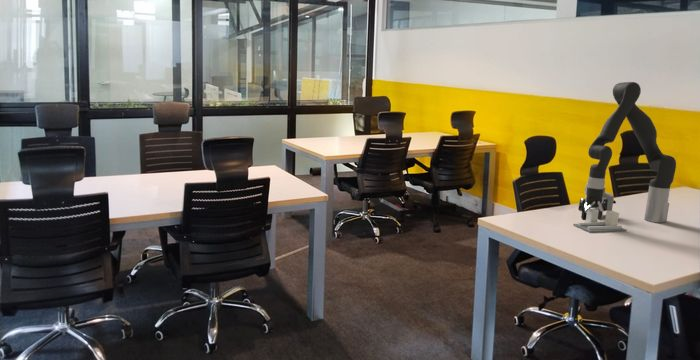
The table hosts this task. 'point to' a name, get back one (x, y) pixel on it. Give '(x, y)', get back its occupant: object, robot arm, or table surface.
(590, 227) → the rail plate
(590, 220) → the block
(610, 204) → the circuit breaker
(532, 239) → the table surface
